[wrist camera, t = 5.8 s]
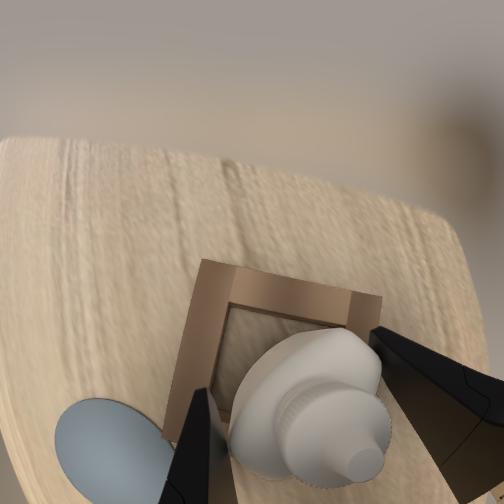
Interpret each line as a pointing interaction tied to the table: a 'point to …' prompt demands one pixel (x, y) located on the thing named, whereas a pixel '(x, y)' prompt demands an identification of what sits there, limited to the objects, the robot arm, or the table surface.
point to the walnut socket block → (257, 300)
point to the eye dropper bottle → (312, 411)
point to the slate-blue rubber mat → (112, 453)
